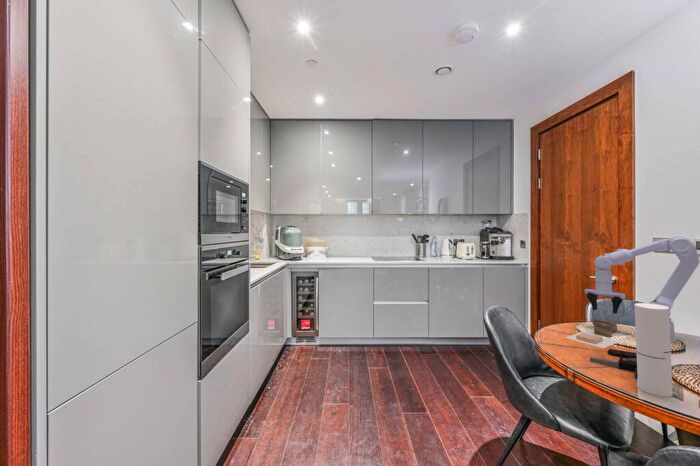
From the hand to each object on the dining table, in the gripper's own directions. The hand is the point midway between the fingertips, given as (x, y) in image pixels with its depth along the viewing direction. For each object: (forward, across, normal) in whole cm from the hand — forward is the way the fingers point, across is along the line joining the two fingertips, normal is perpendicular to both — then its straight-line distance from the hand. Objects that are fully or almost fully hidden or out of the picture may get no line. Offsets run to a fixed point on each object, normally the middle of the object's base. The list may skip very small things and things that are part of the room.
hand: (604, 311), depth 135 cm
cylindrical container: (+10, +31, -46) cm, 56 cm away
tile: (+8, +2, -15) cm, 18 cm away
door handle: (+10, +18, -34) cm, 40 cm away
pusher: (+9, +2, -3) cm, 10 cm away
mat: (+9, +2, -11) cm, 15 cm away
